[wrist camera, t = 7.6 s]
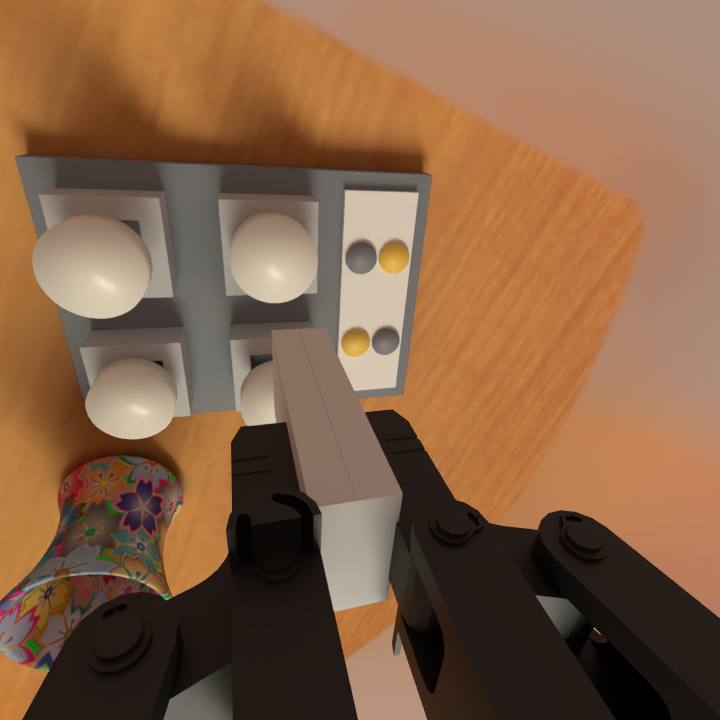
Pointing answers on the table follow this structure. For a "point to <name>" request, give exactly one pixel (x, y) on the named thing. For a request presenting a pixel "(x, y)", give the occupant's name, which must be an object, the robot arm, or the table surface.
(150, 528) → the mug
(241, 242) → the button
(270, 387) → the button
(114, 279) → the button
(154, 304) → the board
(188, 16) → the table surface
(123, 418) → the button
